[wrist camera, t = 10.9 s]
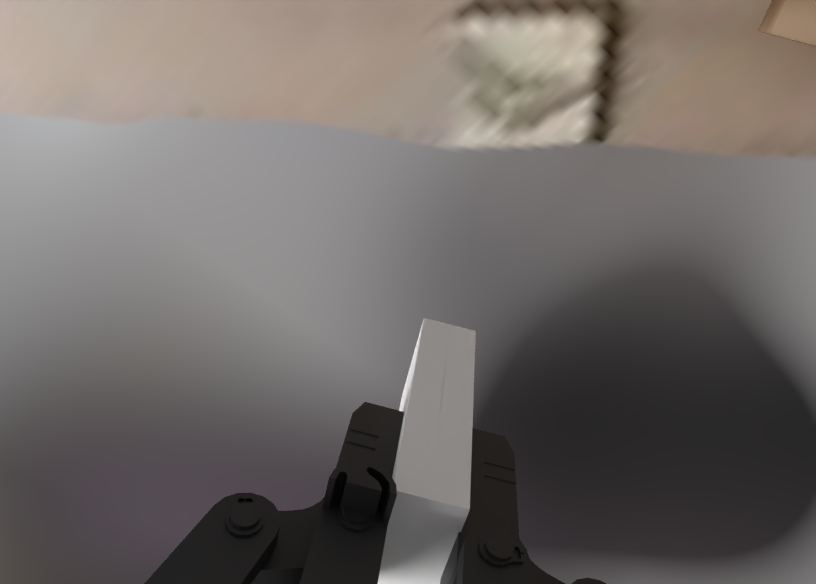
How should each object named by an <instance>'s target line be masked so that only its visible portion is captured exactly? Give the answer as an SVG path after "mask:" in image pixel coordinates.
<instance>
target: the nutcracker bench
mask: <svg viewBox="0 0 816 584" xmlns="http://www.w3.org/2000/svg"><path fill="white" fill-rule="evenodd" d="M758 31H760V32H764V33H767V34H771V35H775V36H779V37H783V38H787V39H790V40H794V41H798V42H802V43H806V44H810V45H813V46H816V0H772V2H771V4H770V6H769V9H768V11H767V13H766V15H765V17H764V19H763V22H762V24H761V26H760V28H759V30H758Z"/></svg>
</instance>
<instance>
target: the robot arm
mask: <svg viewBox="0 0 816 584" xmlns="http://www.w3.org/2000/svg"><path fill="white" fill-rule="evenodd" d="M474 363H475V331H473V330H469V329H465V328H462V327H458V326H454V325H450V324H446V323H442V322H438V321H434V320H430V319H427V318H424V319H423V323H422V327H421V330H420V334H419V338H418V341H417V344H416V348H415V351H414V355H413V359H412V362H411V366H410V369H409V373H408V376H407V380H406V383H405V387H404V391H403V394H402V399H401V404H400V410H399V411H398V410H394V409H390V408H386V407H383V406H379V405H375V404H371V403H367V402H365V403H364V404H362V405H361V406H360V407H359V408H358V409H357V410H356V411H355V412H354V413H353V414H352V417H351V420H350V424H349V427H348V431H347V434H346V437H345V440H344V444H343V447H342V450H341V453H340V457H339V460H338V463H337V467H336V468H335V469H334V471H333V472H332V474H331V476H330V477H329V481H328V485H327V490H326V494H325V497H324V498H323V499H322V500H321V501H320V502H319V503H317V504H316V505H314V506H312V507H309V508H306V509H302V510H294V511H278V510H277V509H276V507H275V505H274V504H273V503H272V502H270V501H269V500H267V499H266V498H265V497H263V496H260V495H256V494H253V493H237V494H234V495H231V496H227V497H225V498H223V499H222V500H221V501H219V502H218V503H217V504H215V505H214V506H213V507H212V508H211V509H210V511H209V512H208V513H207V514H206V515H205V516H204V517H203V518H202V520H201V521H200V522H199V523H198V524H197V525H196V526H195V527H194V529H193V530H192V531H191V532H190V533H189V534H188V535H187V536H186V538H185V539H184V540H183V541H182V542H181V543H180V544H179V545H178V546H177V548H176V549H175V550H174V551H173V552H172V553H171V554H170V555H169V557H168V558H167V559H166V560H165V561H164V563H162V564H161V566H160V567H159V568H158V569H157V570H156V571H155V572H154V573H153V575H152V576H151V577H150V578H149V579H148V580H147V581H146V582H145V584H565V583H563V582H561V581H559V580H558V579H556V578H554V577H552V576H551V575H549V574H547V573H546V572H544V571H542V570H541V569H540V568H538V567H537V566H536V565H535V564H534V563H533V562H532V561H531V560H530V558H529V556H528V553H527V549H526V548H525V546H524V545H523V544H522V542H521V541H520V538H519V529H518V511H517V493H516V486H515V484H516V476H515V459H514V452H513V450H512V448H511V447H510V445H509V443H508V441H507V439H506V437H505V436H501V435H497V434H493V433H489V432H485V431H482V430H478V429H474V428H472V424H473V394H474ZM572 584H606V583H604V582H602V581H600V580H595V579H591V578H584V579H578V580H576V581H575V582H573V583H572Z"/></svg>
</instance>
